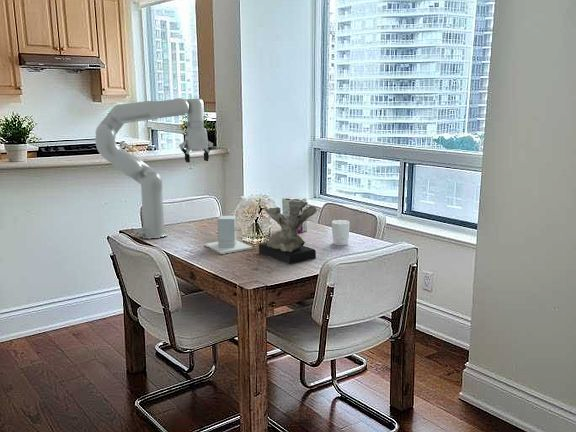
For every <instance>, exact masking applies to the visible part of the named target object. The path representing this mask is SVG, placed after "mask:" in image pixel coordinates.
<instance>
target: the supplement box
mask: <svg viewBox="0 0 576 432" xmlns="http://www.w3.org/2000/svg"><path fill="white" fill-rule="evenodd" d="M216 221H217V242H218V247H235V245H236V243H237V240H238V239H237V234H238V233H237V216H236V215H220V216H218V218H217V220H216Z"/></svg>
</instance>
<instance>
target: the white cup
mask: <svg viewBox="0 0 576 432" xmlns="http://www.w3.org/2000/svg"><path fill="white" fill-rule="evenodd" d="M350 224H351V223H350V221H349V220H344V219H336V220H332V221H331V231H332V233H331V235H332V244H333V246H347V245H349V238H350Z"/></svg>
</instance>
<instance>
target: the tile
mask: <svg viewBox="0 0 576 432" xmlns="http://www.w3.org/2000/svg"><path fill="white" fill-rule="evenodd" d="M204 245H205V246H207V247H209V248H211V249H213V250H214V251H213V250H212V251H213V252H215V251H217V252H218V253H217V252H216V253H217V254H219V253H220V255H221V254H223V255H227V254H226V253H228V254H233V253H232V252H234V253H239V252H244V250H245V251H249V250H253V246H252V245H249V244H246V243H245V242H242V241H239V240H238V239H237V243H236V245H235V247H218V241H214V242H207V243H203V246H204ZM205 246H204V247H205ZM207 247H206V248H207ZM209 248H208V249H209ZM211 249H210V250H211ZM238 251H239V252H238Z"/></svg>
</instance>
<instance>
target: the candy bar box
mask: <svg viewBox="0 0 576 432" xmlns="http://www.w3.org/2000/svg"><path fill="white" fill-rule="evenodd" d="M291 201H293V202H307V198H305V197H293V196H286V197H283V198H282V201H281V203H282V204H281V205H282V215H283V216H284V217H285V218H286V219H287V217H286V216H289V215H290V208H289V207H290V206H289V204H290V203H289V202H291ZM305 209H308V208H307V205H306V206H305V207H303V208H302V209H301V210H300V212H299V214H298V215H301V214H302V213H303V211H304V210H305ZM307 219H308V218H307ZM307 219H306V221H304V222H303V223H302V224H301V225H300V226H299V228H298V230H297V233H298V234H299V233H300V234H303V233H305V232H307V231H308V229H307V228H308V227H307V226H308V225H307V221H308V220H307Z"/></svg>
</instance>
